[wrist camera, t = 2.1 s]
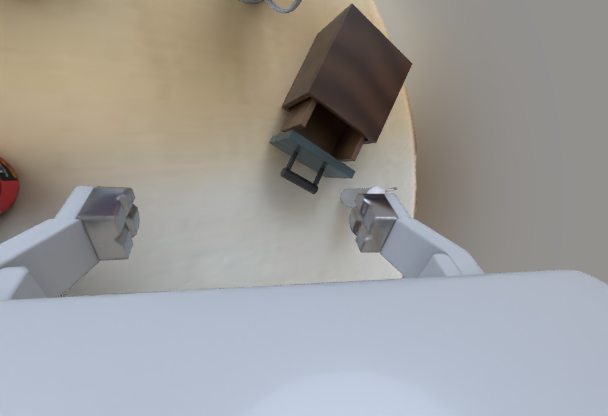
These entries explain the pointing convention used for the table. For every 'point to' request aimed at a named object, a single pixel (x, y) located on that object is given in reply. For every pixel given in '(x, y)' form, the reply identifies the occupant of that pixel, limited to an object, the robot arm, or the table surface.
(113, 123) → the table surface
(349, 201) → the milkshake
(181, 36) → the table surface
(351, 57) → the cabinet
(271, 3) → the glass holder
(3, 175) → the canned food
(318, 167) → the drawer
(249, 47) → the table surface
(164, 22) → the table surface
